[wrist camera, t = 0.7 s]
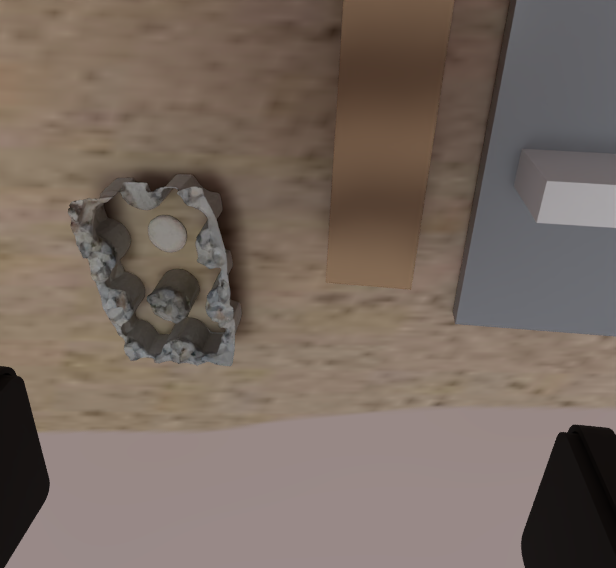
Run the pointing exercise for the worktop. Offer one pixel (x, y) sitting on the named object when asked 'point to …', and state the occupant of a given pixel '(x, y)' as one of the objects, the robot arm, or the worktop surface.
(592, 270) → the fulcrum board
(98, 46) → the worktop surface
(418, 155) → the beam
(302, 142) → the worktop surface
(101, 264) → the egg carton
